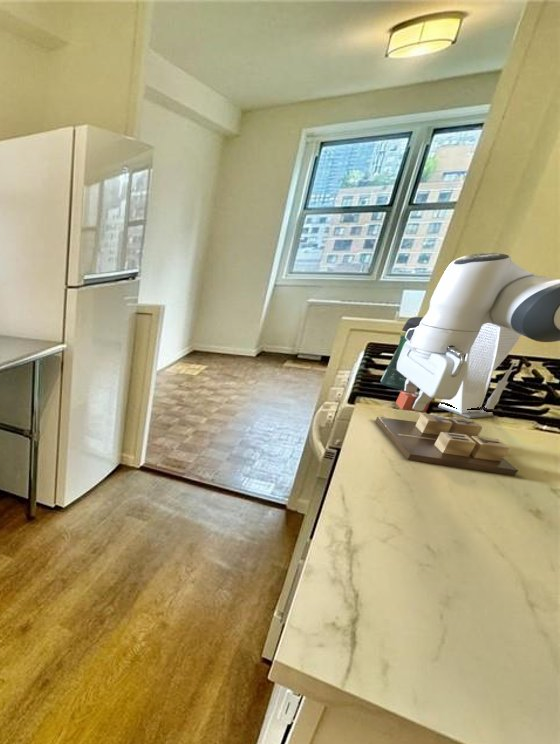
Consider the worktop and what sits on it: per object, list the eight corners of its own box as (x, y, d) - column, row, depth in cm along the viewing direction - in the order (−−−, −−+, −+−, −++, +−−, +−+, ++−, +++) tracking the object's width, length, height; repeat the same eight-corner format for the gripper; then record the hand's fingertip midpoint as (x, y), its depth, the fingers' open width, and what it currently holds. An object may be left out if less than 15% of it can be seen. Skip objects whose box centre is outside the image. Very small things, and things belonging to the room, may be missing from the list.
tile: (459, 448, 96) (466, 434, 95) (468, 457, 93) (476, 442, 91) (433, 444, 97) (441, 430, 96) (442, 453, 94) (450, 439, 93)
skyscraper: (464, 418, 112) (530, 294, 99) (428, 405, 119) (485, 288, 107) (492, 415, 114) (560, 293, 101) (455, 403, 121) (514, 287, 108)
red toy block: (419, 406, 104) (426, 392, 102) (427, 413, 101) (434, 399, 99) (393, 403, 105) (399, 389, 104) (400, 409, 102) (406, 395, 101)
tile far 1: (490, 452, 94) (498, 438, 93) (501, 461, 91) (509, 447, 90) (464, 449, 96) (472, 435, 94) (474, 457, 93) (482, 443, 91)
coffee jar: (428, 389, 130) (462, 319, 121) (419, 395, 126) (453, 323, 117) (385, 379, 137) (413, 313, 128) (374, 385, 133) (403, 316, 124)
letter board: (464, 433, 105) (467, 427, 105) (515, 475, 89) (518, 469, 88) (375, 421, 111) (377, 416, 110) (407, 459, 94) (410, 453, 94)
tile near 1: (466, 432, 103) (473, 419, 101) (475, 440, 99) (483, 426, 98) (442, 429, 104) (449, 416, 103) (450, 437, 101) (457, 423, 99)
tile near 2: (439, 429, 104) (446, 416, 103) (448, 436, 101) (455, 423, 99) (414, 425, 106) (421, 412, 104) (422, 433, 102) (429, 419, 101)
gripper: (489, 356, 87) (452, 426, 93) (440, 331, 103) (412, 391, 110) (444, 352, 89) (411, 420, 95) (404, 328, 106) (378, 387, 112)
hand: (411, 404), depth 103 cm, fingers closed on red toy block, 4 cm apart
